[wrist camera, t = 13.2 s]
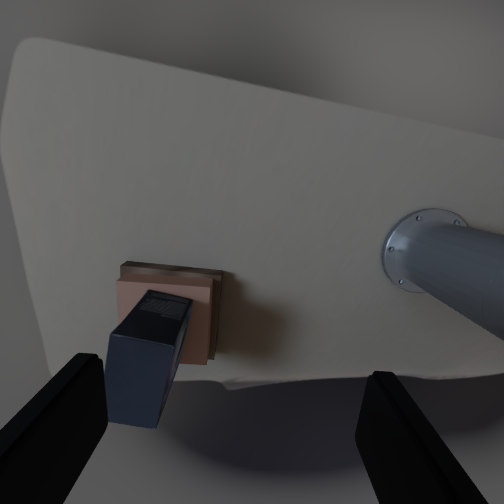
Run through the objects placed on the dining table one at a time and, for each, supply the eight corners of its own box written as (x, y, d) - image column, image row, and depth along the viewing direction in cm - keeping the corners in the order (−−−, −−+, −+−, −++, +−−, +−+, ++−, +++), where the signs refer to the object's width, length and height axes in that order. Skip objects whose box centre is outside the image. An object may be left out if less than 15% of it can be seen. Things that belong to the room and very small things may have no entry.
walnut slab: (223, 268, 40) (221, 275, 37) (216, 347, 44) (214, 359, 41) (129, 259, 39) (120, 265, 36) (130, 340, 43) (122, 352, 40)
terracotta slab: (212, 278, 37) (210, 287, 34) (209, 351, 41) (206, 365, 38) (126, 272, 37) (116, 280, 34) (129, 346, 40) (120, 360, 37)
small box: (181, 364, 37) (157, 433, 27) (135, 355, 37) (93, 422, 27) (196, 298, 35) (176, 348, 25) (146, 287, 34) (105, 333, 24)
